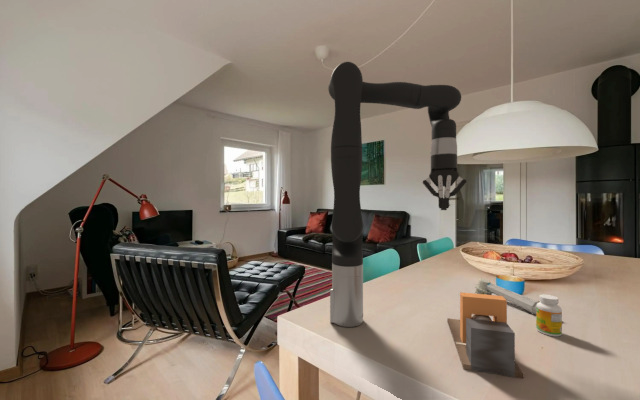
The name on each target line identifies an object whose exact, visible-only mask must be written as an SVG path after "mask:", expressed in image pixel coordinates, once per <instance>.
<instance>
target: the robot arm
mask: <svg viewBox="0 0 640 400" xmlns="http://www.w3.org/2000/svg"><path fill="white" fill-rule="evenodd" d="M363 80H364V79H363V74H362V72H361V69H360V68H359V67H358V66H357V65H356V64H355V63H353V62H352V61H344V62H341V63H339V64H338V65H337V66H336V67H335V68H334V69H333V71H332V74H331V75H330V79H329V82H328V88H327V89H328V94H329V97H330V98H331V99H332V100H334V120H333V125H332V131H331V137H330V138H331V140H330V167H331V168H330V169H331V178H332V186H333V210H332V217H331V218H332V220H331V230H332V250H331V251H332V252H331V289H329V290H330V291H329V297H330V298H329V308H330V309H329V313H330V314H329V320H330V321H329V322H330V323H333V324H335V325H337V326H340V327H345V328H353V327H358V326H360V325H362V324H363V323H364V251H363V231H364V221H363V216H362V215H363V214H362V209H361V195H360V194H361V183H362V172H363V142H362V140H363V139H362V137H363V136H362V122H361V121H362V120H361V104H363V103H364V104H380V105H388V106H396V107H401V108H406V109H412V110H413V109H414V110H420V109H423V108H427V114H428V120H429V122H430V126H431V144H430V173H429V175H428V177H427V178H425V179H424V180H422V184H423V185H424V187H425V188H426V189H427V191H429V192H430V194H431V195H432V196H434V197H436V198H437V199H438V208H439V209H440V211H447V210H448V209H449V207H450V198H451V197H455V196H456V195H457V194H458V193H459V191H460V190H462V188H463V187H464V186H465V185H466V183H467V179H466V178H465V179H464V178H463V177H461V176H460V173H459V171H458V144H457V124H456V120H453V118H452V119H451V118H450V114H449V113H450V112H451V111H453V110H454V109H456V108H457V107H458V106H459V105H460V103H461V101H462V94H461V92H460V90H459V89H458V88H456V87H455V86H453V85H449V84H427V85H424V84H423V85H422V84H418V83H414V82H413V83H412V82H407V81H393V82H379V83H374V82H365V81H363ZM432 183H433V184H434V185H435V187H436V188H437V191H436V190H435V189H434V188H433V186H432ZM454 183H456V184H457V185H456V186H455V187H454V188H453V190H452V191H451V187H452V186H453V185H454Z"/></svg>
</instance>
